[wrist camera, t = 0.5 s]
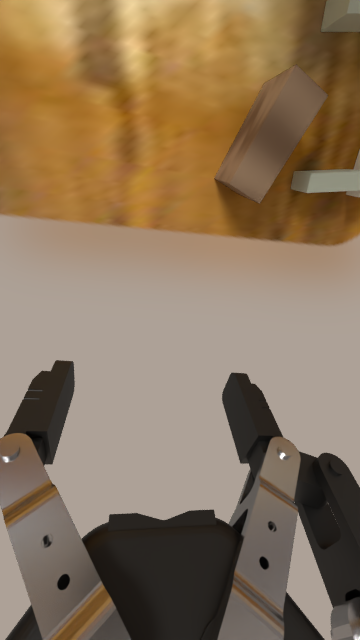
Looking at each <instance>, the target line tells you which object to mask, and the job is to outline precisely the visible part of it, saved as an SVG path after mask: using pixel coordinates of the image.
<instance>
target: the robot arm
mask: <svg viewBox="0 0 360 640" xmlns="http://www.w3.org/2000/svg"><path fill="white" fill-rule="evenodd" d="M73 392H74V364H73V361H59V360H57V361H55V363H54V365H53V368H52V370H51V371H41V372H40V373H39V374H38V375H37V376H36V377H35V378H34V379H33V380H32V382H31V384H30V386H29V388H28V391H27V392H26V394H25V397H24V400H22V403H21V404H20V407H19V409H18V411H17V413H16V415H15V417H14V419H13V421H12V423H11V425H10V427H9V429H8V431H7V433H6V434H5V435H4V437H2V438H1V439H0V506H1V509H2V512H3V516H4V520H5V524H6V528H7V531H8V534H9V537H10V540H11V543H12V546H13V549H14V552H15V555H16V559H17V562H18V564H19V568H20V571H21V574H22V577H23V580H24V583H25V586H26V589H27V592H28V596H29V598H30V602H31V606H30V607H29V609H28V610H27V611H26V612H25V614H24V615H23V617H22V618H21V619H20V621H19V622H18V623H17V625H16V626H15V627H14V629H13V630H12V632H11V633H10V634H9V635H8V637H7V638H6V639H5V640H324V638H323V637H322V636H321V635H320V633H319V632H318V631H317V629H316V628H315V627H314V626H313V625H312V623H311V622H310V621H309V620H308V619H307V617H306V616H305V615H304V613H303V612H302V611H301V610H300V608H299V607H298V606H297V605H296V603H295V602H294V601H293V600H292V598H291V597H290V596H289V595H288V593H287V592H286V588H287V582H288V575H289V568H290V562H291V555H292V548H293V542H294V535H295V529H296V522H297V515H298V513H299V516H300V518H301V521H302V524H303V526H304V529H305V532H306V535H307V537H308V540H309V543H310V545H311V548H312V551H313V554H314V557H315V559H316V562H317V565H318V568H319V570H320V573H321V576H322V579H323V581H324V584H325V587H326V590H327V592H328V595H329V598H330V600H331V603H332V606H333V610H332V613H331V638H332V640H360V487H359V486H358V484H357V482H356V480H355V479H354V477H353V475H352V473H351V472H350V470H349V468H348V467H347V465H346V464H345V463H344V462H343V461H342V460H341V459H340V458H338V457H337V456H335V455H333V454H330V453H322V454H321V455H320V456H319V457H318V458H316V457H314V456H311V455H308V454H305V453H302V452H299V451H298V450H297V448H296V447H295V446H294V444H293V443H291V442H290V441H289V440H287V439H285V438H283V436H282V434H281V431H280V429H279V427H278V425H277V423H276V421H275V419H274V416H273V414H272V412H271V410H270V409H269V406H268V404H267V402H266V399H265V397H264V395H263V393H262V391H261V390H260V389H259V388H258V387H257V386H256V385H255V384H251V382H250V380H249V377H248V375H247V374H244V373H231V374H230V377H229V379H228V381H227V383H226V386H225V388H224V391H223V394H222V401H223V405H224V408H225V412H226V415H227V419H228V422H229V426H230V429H231V432H232V436H233V439H234V442H235V446H236V449H237V453H238V456H239V460H240V463H249V466H250V471H249V473H248V475H247V478H246V481H245V484H244V487H243V490H242V493H241V496H240V498H239V501H238V504H237V507H236V509H235V511H234V513H233V515H232V517H231V519H230V522H229V524H227V523H226V522H224V521H222V520H220V519H218V518H215V514H214V510H196V511H188V512H185V513H183V514H180V515H178V516H175V517H173V518H170V519H168V520H159V519H156V518H152V517H149V516H145V515H141V514H138V513H132V514H110V515H109V522H108V523H105V524H102V525H100V526H98V527H97V528H95V529H93V530H92V531H91V532H89V533H88V534H87V535H85V536H84V537H83V538H82V539H81V538H80V535H79V533H78V531H77V529H76V527H75V525H74V523H73V521H72V519H71V517H70V515H69V512H68V510H67V508H66V506H65V504H64V502H63V500H62V498H61V496H60V494H59V492H58V490H57V488H56V486H55V485H54V484H52V482H51V480H50V478H49V476H48V474H47V472H46V470H45V467H44V465H45V464H53V460H54V457H55V453H56V450H57V447H58V444H59V440H60V437H61V433H62V430H63V427H64V423H65V420H66V417H67V413H68V410H69V407H70V403H71V400H72V397H73ZM294 502H295V503H294ZM328 503H329V504H328ZM332 512H333V513H332ZM333 514H334V515H333ZM337 523H338V524H337ZM338 525H339V526H338Z"/></svg>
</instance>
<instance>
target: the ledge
mask: <svg viewBox="0 0 360 640" xmlns="http://www.w3.org/2000/svg"><path fill="white" fill-rule="evenodd" d="M321 32H360V0H327V1H326V6H325V11H324V16H323V21H322V27H321ZM291 189H292V190H296V191H300V192H305V193H318V192H338V191H347V192H346V195H350V196H355V197H360V149H359V153H358V156H357V159H356V163H355V166H354V169H353V170H351V169H337V170H313V171H294V173H293V179H292V184H291Z"/></svg>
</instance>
